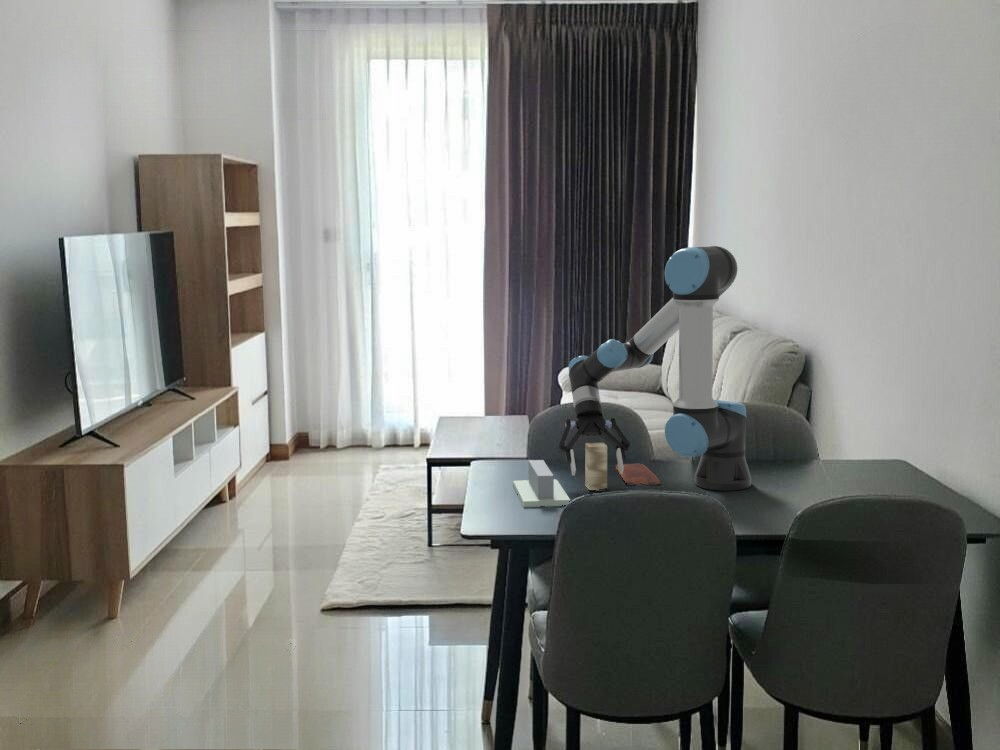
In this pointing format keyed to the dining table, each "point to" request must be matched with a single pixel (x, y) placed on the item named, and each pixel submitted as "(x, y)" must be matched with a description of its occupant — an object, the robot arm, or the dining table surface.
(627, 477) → the wooden tablet
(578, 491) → the dining table surface
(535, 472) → the ridge stand
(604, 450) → the birch block
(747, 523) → the dining table surface
